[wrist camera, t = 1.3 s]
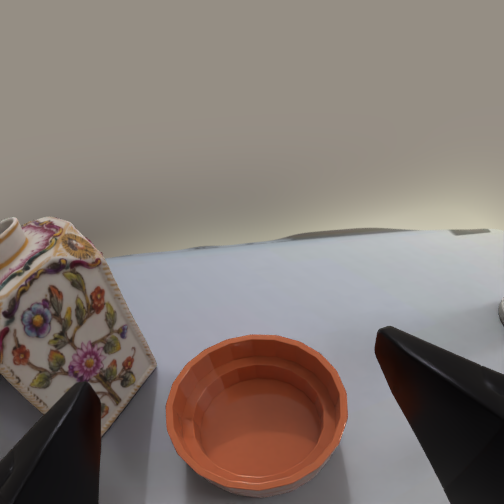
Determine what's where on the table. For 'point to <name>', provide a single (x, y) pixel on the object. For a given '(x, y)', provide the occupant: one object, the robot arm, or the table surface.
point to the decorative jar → (65, 319)
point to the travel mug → (501, 310)
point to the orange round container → (257, 414)
